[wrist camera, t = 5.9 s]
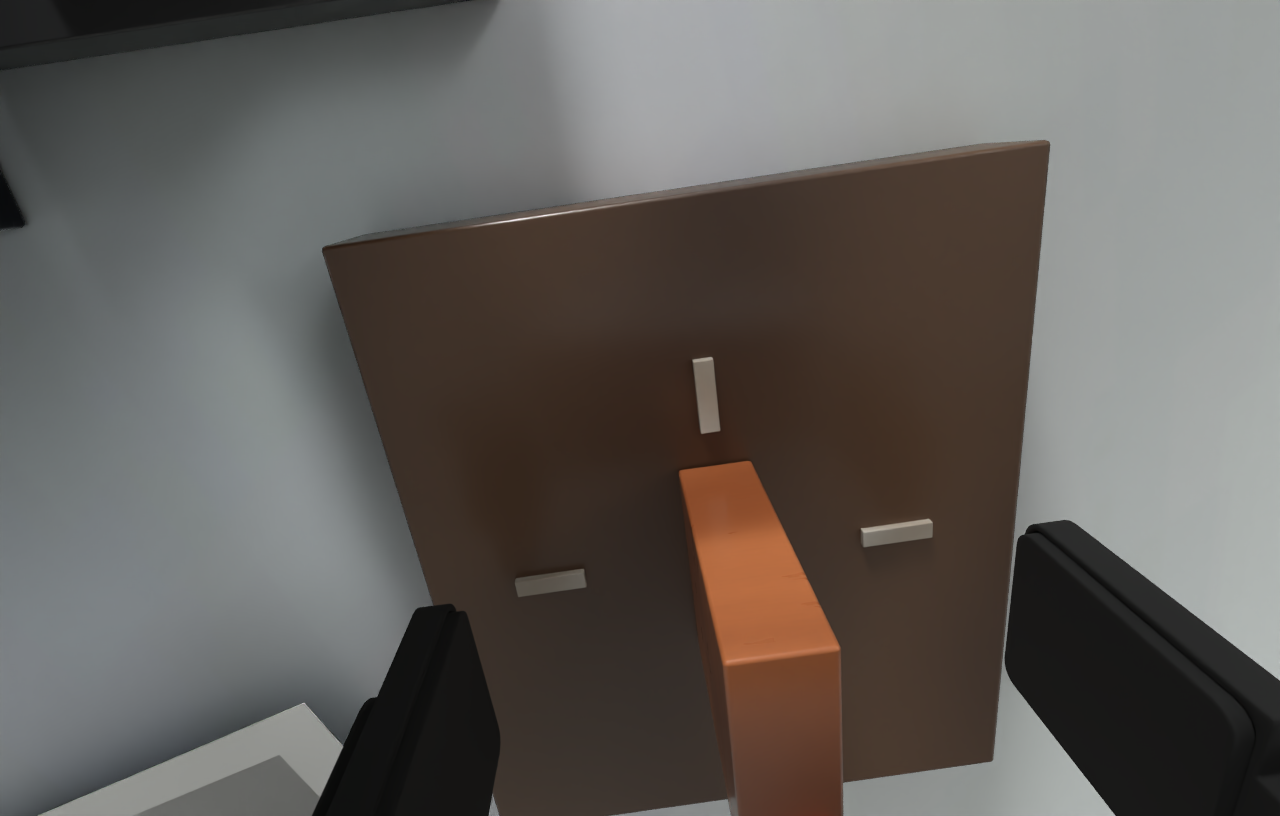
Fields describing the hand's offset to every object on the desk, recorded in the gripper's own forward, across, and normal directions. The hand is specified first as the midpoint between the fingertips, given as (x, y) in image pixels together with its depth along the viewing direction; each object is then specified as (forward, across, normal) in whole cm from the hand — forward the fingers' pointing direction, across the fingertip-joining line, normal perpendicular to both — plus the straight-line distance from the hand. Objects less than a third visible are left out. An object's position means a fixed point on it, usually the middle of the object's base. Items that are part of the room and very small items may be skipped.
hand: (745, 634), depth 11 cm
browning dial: (+4, 0, 0) cm, 4 cm away
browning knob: (+2, 0, 0) cm, 2 cm away
